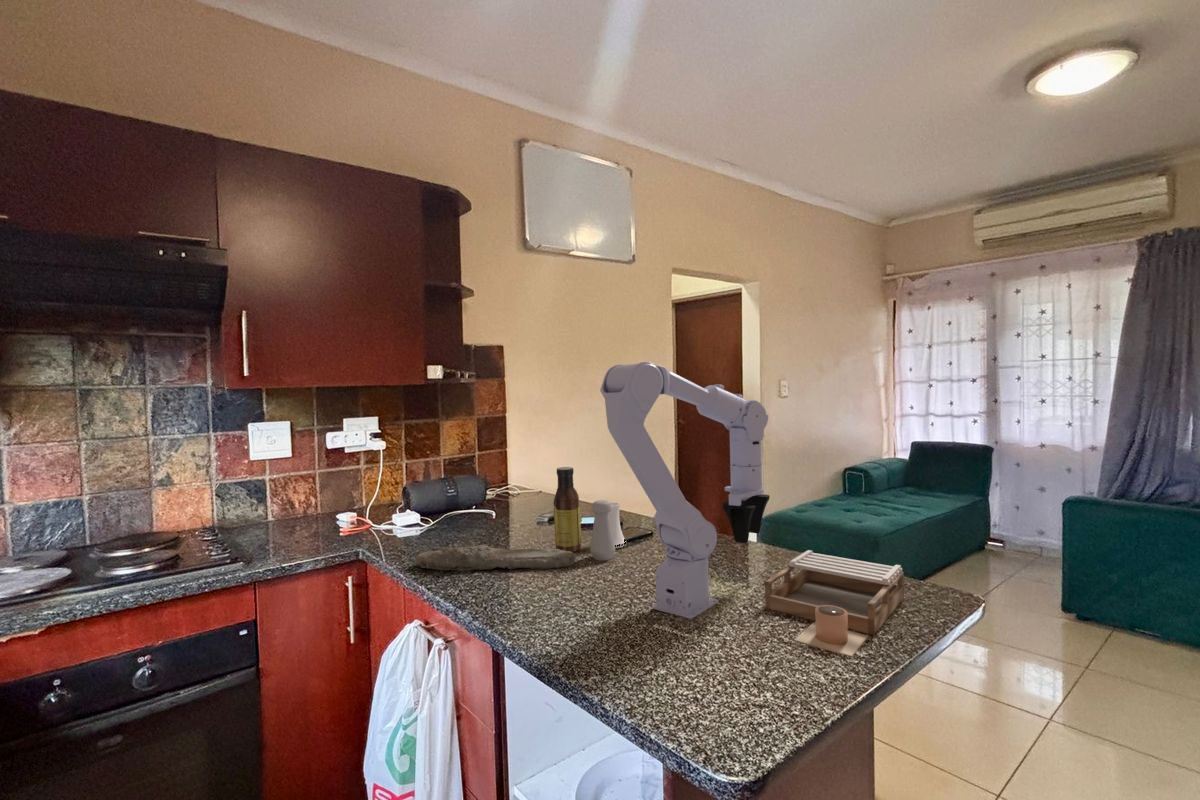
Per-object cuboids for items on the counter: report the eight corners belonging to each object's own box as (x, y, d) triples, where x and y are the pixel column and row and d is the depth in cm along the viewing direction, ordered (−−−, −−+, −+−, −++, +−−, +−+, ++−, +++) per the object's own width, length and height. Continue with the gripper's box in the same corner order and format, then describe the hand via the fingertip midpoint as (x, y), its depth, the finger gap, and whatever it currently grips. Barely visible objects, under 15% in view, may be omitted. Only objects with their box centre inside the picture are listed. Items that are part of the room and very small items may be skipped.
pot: (833, 647, 78) (832, 618, 78) (809, 635, 82) (808, 608, 82) (854, 640, 80) (854, 612, 80) (830, 629, 84) (829, 602, 84)
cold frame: (873, 637, 82) (873, 604, 82) (765, 610, 93) (764, 581, 93) (904, 599, 96) (903, 572, 96) (806, 580, 107) (806, 555, 107)
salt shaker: (601, 563, 121) (600, 504, 121) (584, 558, 125) (583, 501, 125) (620, 558, 125) (619, 500, 124) (603, 553, 129) (602, 497, 129)
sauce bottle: (566, 545, 136) (564, 465, 136) (586, 548, 133) (584, 466, 133) (549, 551, 131) (547, 468, 131) (569, 555, 127) (567, 470, 127)
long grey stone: (573, 578, 116) (575, 566, 126) (574, 553, 116) (576, 543, 126) (408, 572, 116) (424, 560, 126) (409, 547, 117) (425, 537, 127)
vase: (589, 545, 136) (588, 505, 136) (609, 539, 141) (608, 500, 141) (612, 550, 131) (612, 508, 131) (632, 543, 136) (631, 503, 136)
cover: (889, 585, 89) (888, 579, 89) (789, 566, 100) (789, 560, 100) (902, 571, 96) (902, 565, 96) (807, 554, 107) (807, 549, 107)
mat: (851, 659, 75) (851, 655, 75) (794, 643, 81) (794, 639, 81) (868, 639, 81) (868, 635, 81) (813, 625, 87) (813, 621, 87)
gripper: (737, 459, 111) (738, 526, 111) (711, 468, 98) (713, 544, 98) (772, 460, 107) (774, 530, 107) (750, 470, 95) (752, 549, 95)
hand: (747, 537), depth 103 cm, fingers open, 7 cm apart
